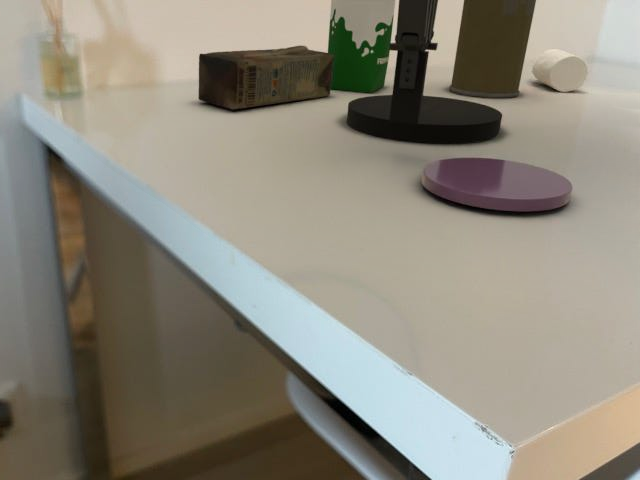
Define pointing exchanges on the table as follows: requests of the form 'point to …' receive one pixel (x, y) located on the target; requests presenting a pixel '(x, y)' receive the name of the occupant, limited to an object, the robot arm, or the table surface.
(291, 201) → the table surface
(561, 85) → the roll
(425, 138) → the wireless charger
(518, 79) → the canister
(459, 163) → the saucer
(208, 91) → the beverage carton
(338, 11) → the milk carton
